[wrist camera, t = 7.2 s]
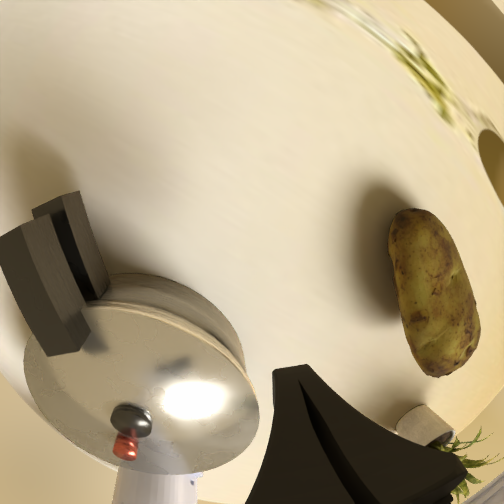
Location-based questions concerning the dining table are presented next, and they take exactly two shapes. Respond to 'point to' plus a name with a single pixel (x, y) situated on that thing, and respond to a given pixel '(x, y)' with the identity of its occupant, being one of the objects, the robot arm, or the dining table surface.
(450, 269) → the potato
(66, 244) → the pot
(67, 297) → the lid
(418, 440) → the house plant
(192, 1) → the dining table surface
